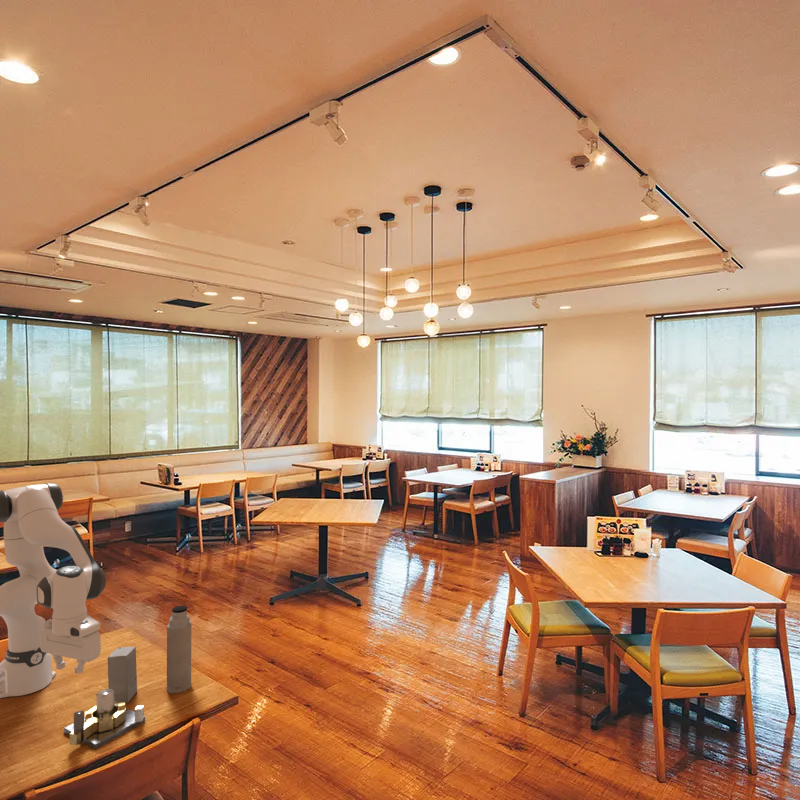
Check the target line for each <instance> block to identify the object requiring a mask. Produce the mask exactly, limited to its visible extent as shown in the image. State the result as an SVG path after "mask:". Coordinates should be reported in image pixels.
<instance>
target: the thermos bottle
mask: <svg viewBox="0 0 800 800" xmlns="http://www.w3.org/2000/svg"><path fill="white" fill-rule="evenodd" d="M187 610H188V606H186V605H177V606H174V607H172V608H171V616H170V617H169V619H168V624H167V625H166V690H167V692H168V693H170V694H181V693H184V692H186V691H188V690H189V689H190V688H191V687H192V621H191V620H190V618H191V617H190V615H189V614H188V613H187V612H188V611H187ZM187 689H188V690H187ZM183 691H184V692H183ZM180 692H181V693H180Z"/></svg>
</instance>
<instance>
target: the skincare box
mask: <svg viewBox="0 0 800 800" xmlns="http://www.w3.org/2000/svg"><path fill="white" fill-rule="evenodd" d="M137 673H138V672H137V646H121V647H120V646H119V647H117V648H116V649H114V650H113V651H112V652H111V654H110V655H109V656H107V679H108V681H107V682H108V683H107V685H108V686H107V687H108V689H113V690H114V701H116V702H122V703H123V702H125V704H129V703H130V701H131V700H132V698H133V697H134V696H135V695H136V693H137V692H138V678H137Z"/></svg>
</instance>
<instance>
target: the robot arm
mask: <svg viewBox="0 0 800 800" xmlns="http://www.w3.org/2000/svg"><path fill="white" fill-rule="evenodd" d="M63 502H64V494H63V490H62V488H61V487H60V486H59V485H58V484H57V483H51V482H50V483H49V482H48V483H44V484H31V485H30V484H29V485H24V486H18V487H14V488H9V489H5V490H0V523H3V544H4V556H5V561H6V562H7V564H9V565H11V566H14V567H16V569H17V570H18V572H19V577H17V578H14V579H12V580H9V581H6V582H4V583H3V584H1V585H0V617H1V618H2V619H3V620H4V623H5V624H6V626H7V627H6V628H7V639H8V644H7V645H8V647H6V648H5V657H4V659H3V660H2V661H1V662H0V699H3V698H8V697H20V696H26V695H29V694H32V693H35V692H38V691H40V690H42V689H44V688H46V687H47V686H49V685H50V684H51V683H52V681H53V678H54V677H56V675H57V673H56V671H54V670H53V664H52V663H53V662H52V659H53V660H54V663H55V669H56V670H63V669H64V668H65V667H66V661H64V660H63V659H64V658H69V659H74V660H76V663H77V665H76V666H75V667H74V673H75V674H78V675H80V674H81V673H83V672H84V667H85V664H86V663H87V662H88V663H90V662H92V661H95V660H96V659H97V658H99V657H100V655H101V646H102V645H101V644H102V643H101V641H102V640H101V635H100V632H99V630H100V629H101V623H100V621H98V620H96V619H94V618H93V617H92V616H91V615H89V614H88V608H87V605H86V603H87V602H86V601H88V600H93V599H97V598H98V597H100V595H101V594H102V593H103V592H104V590H105V588H106V586H107V578H106V574H105V572H104V570H103V568H101V567H100V565H98V563H97V562H96V559H94V556H93V555H92V553H91V552H90V550H89V548H88V547H87V545H86V542H85V541H84V540H83V537H82V535H81V534H80V533H79V532H78V530H77V529H76V527H74V526H72V525H69V524H67V523H66V522H65V521H64V520H63V519H62V518H61V516H60V515H59V512H58V511H59V510H60V509H61V508H62V506H63ZM44 547H49V548H57V549H61V550H64V551H66V552H68V553H69V555H70V556H71V558H72V560H73V561H74V563H75V565H67V566H62V567H60V568H58V569H56V568H54V567H53V566H51V565H50V563H49V562H48V560H47V558H46V555H45V550H44ZM37 604H38V605H40V606H41V607H43V608H46V609H53V610H52V611H53V612H52V614H51V615H52V616H51V618H52V619H47V620H46V618H44V617H43V616H40V615H38V614H36V610H35V606H36V605H37ZM63 657H64V658H63Z"/></svg>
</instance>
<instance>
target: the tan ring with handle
mask: <svg viewBox="0 0 800 800" xmlns="http://www.w3.org/2000/svg"><path fill="white" fill-rule="evenodd" d="M126 708H127V707H126V703H125V702H123V703H122V702H116V701H114V714H113V715H112V716H109V713H108V714H104V715H103V718H101V719H100V718H97V705H94V706H93V707H91V708H89V709H88V710H87V711H85V710H78V711H75V712H74V713H73V723H74V731H73V732H71V733H70V736H69V745H73V746H78V745H79V744H81V743H82V741H83V740H85V739H86V738H87V737H89V736H90V735H91V734H93V733H94V732H96V733H97V732H98V731H99V732H102V731H106V730H110V729H113V727H117V726H118V725H120V724H121V723H122V722H123V721H125V719H126ZM84 718H85V723H84Z"/></svg>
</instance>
